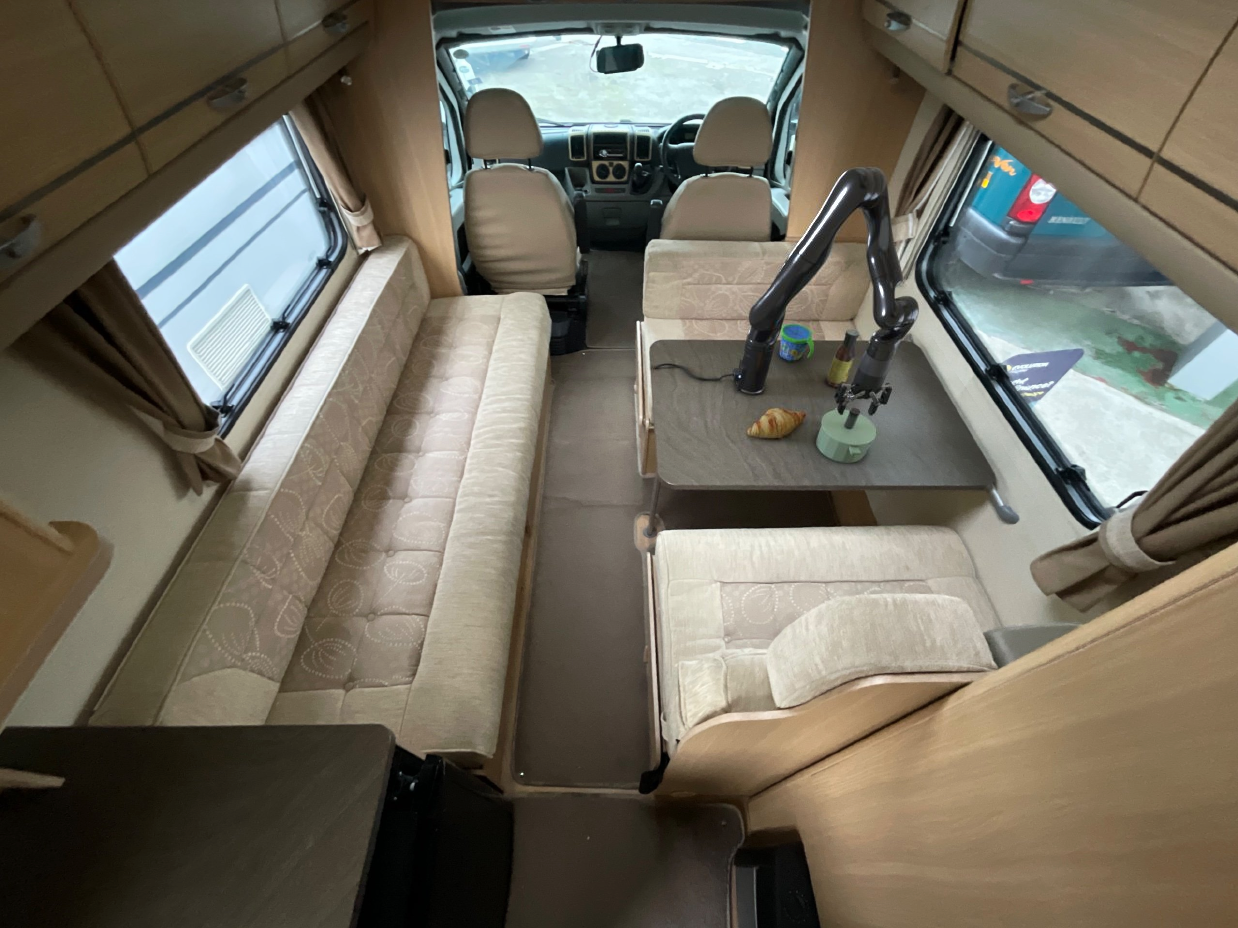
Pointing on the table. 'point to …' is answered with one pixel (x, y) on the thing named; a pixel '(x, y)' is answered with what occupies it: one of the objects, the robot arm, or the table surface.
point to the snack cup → (795, 341)
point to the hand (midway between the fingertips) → (854, 413)
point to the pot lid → (849, 427)
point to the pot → (839, 448)
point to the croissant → (776, 423)
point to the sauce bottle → (843, 359)
